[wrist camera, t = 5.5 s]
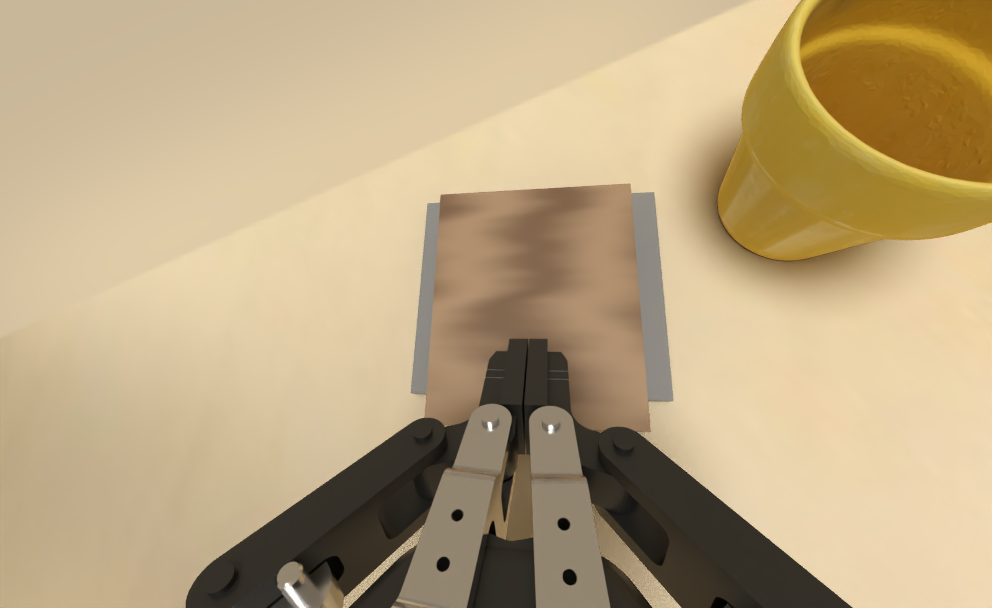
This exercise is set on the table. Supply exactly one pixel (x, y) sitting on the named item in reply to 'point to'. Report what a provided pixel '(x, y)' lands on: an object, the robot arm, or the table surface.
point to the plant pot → (865, 128)
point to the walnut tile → (540, 298)
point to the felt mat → (648, 292)
